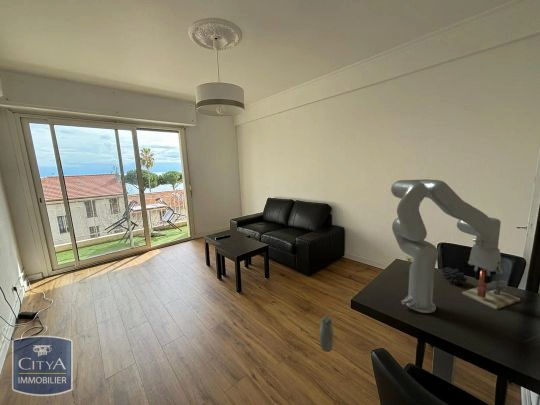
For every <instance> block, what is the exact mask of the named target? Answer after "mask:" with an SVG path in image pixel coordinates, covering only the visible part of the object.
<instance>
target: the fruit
mask: <svg viewBox="0 0 540 405" xmlns="http://www.w3.org/2000/svg"><path fill="white" fill-rule="evenodd" d="M441 272H442V276H444V277H445V280H447V281H448V282H449V284H451V285H454V286H457V285H460V286H461V285H464V284H466V282H467V280H468V278H467V277H465V274H464V272H460V270H459V269H458V268H455V269H454V268H452V267H443V268H441Z"/></svg>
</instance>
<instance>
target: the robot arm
mask: <svg viewBox="0 0 540 405" xmlns="http://www.w3.org/2000/svg"><path fill="white" fill-rule="evenodd" d="M390 191H391V194H392V195H393V196H394V197H395V198H397V199H400V201H399V202H398V205H397V207H396V215H397V218H395V219H394V220H393V222H392V226H391V228H392V234H393V235H394V237H395V239H396V243H397V244H398V247H399V249H400V250H401V251H402V252H403V253H404V254H406V255H408V256H409V257H410V258H412V260H413V261H412V262H411V264H410V266H409V274H408V292H407V293H408V294H407V295H406V296H405V297H404V299H402V300H400V302H401V304H402V305H403V306H404V305H406V306H407V307H408V308H409V309H411V310H413V311H415V312H419V313H422V314H423V313H424V314H430V313H434V312H435V311H436V310H437V307H436V304H435V303H434V302H433V298H434V297H433V296H434V295H433V294H434V283H435V282H434V281H435V268H436V264H437V261H438V258H439V251H438V248H437V247H436V245H435V244H433V243H431V242H429V241H426V240H425V239H426V238H427V235H428V233H427V232H428V231H427V228H426V225H425V224H424V221H423V219H422V216H421V212H420V205H421V203H422V202H423V200H424V199H425V198H426V199H430V200H431V201H432V202H433V203H434V204H435V205H436V206H437V207H438V208H439V209H440V210H441V211H442V212H443V213H445V215H448V216H449V217H452V218H455V219H457V220H458V221H457V223H456V228H457V229H458V230H459V231H460V232H462V233H464V234H467V235H471V236H475V237H476V238H473V239H472V241H473V242H475V244H473V246H472V248H471V250H470V254H469V260H468V261H467V264H468V265H469V266H471V268H472V269H473V271H474V272H475V273H474V274H475V275H474V277H475V280H476V281H479V271H480V269H485V270H487V275H486V276H485V283H486V284H487V283H490V282H491V283H492V281H493V276H495V275H501V274H503V273H504V271H503V270H502V268H501V264H502V263H501V260H502V259H501V258H502V257H501V250H500V248H499V240H500V235H501V234H500V232H501V223H502V222H501V221H500V219H499V218H497V217H489V216H488V215H487V213H484V212H483V211H481V210H480V209H478V208H477V207H475V206H474V205H471V204H469V203H468V202H466V201H465V200H463V199H462V198H461V197H460V196H459V194H457V192H455V191H454V190H453V189H452V188H451V187H450V185H449V184H447V183H446V182H445V181H443V180H440V179H426V178H425V179H404V180H403V179H401V180H397V181H395V182H393V184H392V185H391V187H390Z"/></svg>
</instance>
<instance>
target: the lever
mask: <svg viewBox="0 0 540 405" xmlns="http://www.w3.org/2000/svg"><path fill="white" fill-rule="evenodd" d="M486 275H487V270H486V269H483V268H481V269H480V271H479V280H477V282H478V283H477V287H478V291H477V295H478V296H480V297H486V292H488V291H491V290H495V289H501V291H506V290H507V286H508V281H507V280H504V279H500V280H492V281H491V284H488V285H487V284H486V283H485V276H486Z"/></svg>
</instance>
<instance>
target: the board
mask: <svg viewBox="0 0 540 405" xmlns="http://www.w3.org/2000/svg"><path fill="white" fill-rule="evenodd" d="M477 291H478V286H477V287H473V288H470V289H467V290H465V291H464V290H463V291H462V292H461V294H462V295H464V296H466V297H467V298H470V299H472V300H474V301H477V302H479V303H481V304H483V305H484V306H485V305H486V306H488V307H490V308H492V309H494V310H499V309H501V308H505V307H507V306H509V305H512V304H515V303H517V302H520V301H521V298H520V297H518V296H515V295H512V294H510V293H507V292H504V291H503V290H502V289H495V290H491V291H488V292H486V297H480V296H478V295H477Z"/></svg>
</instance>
